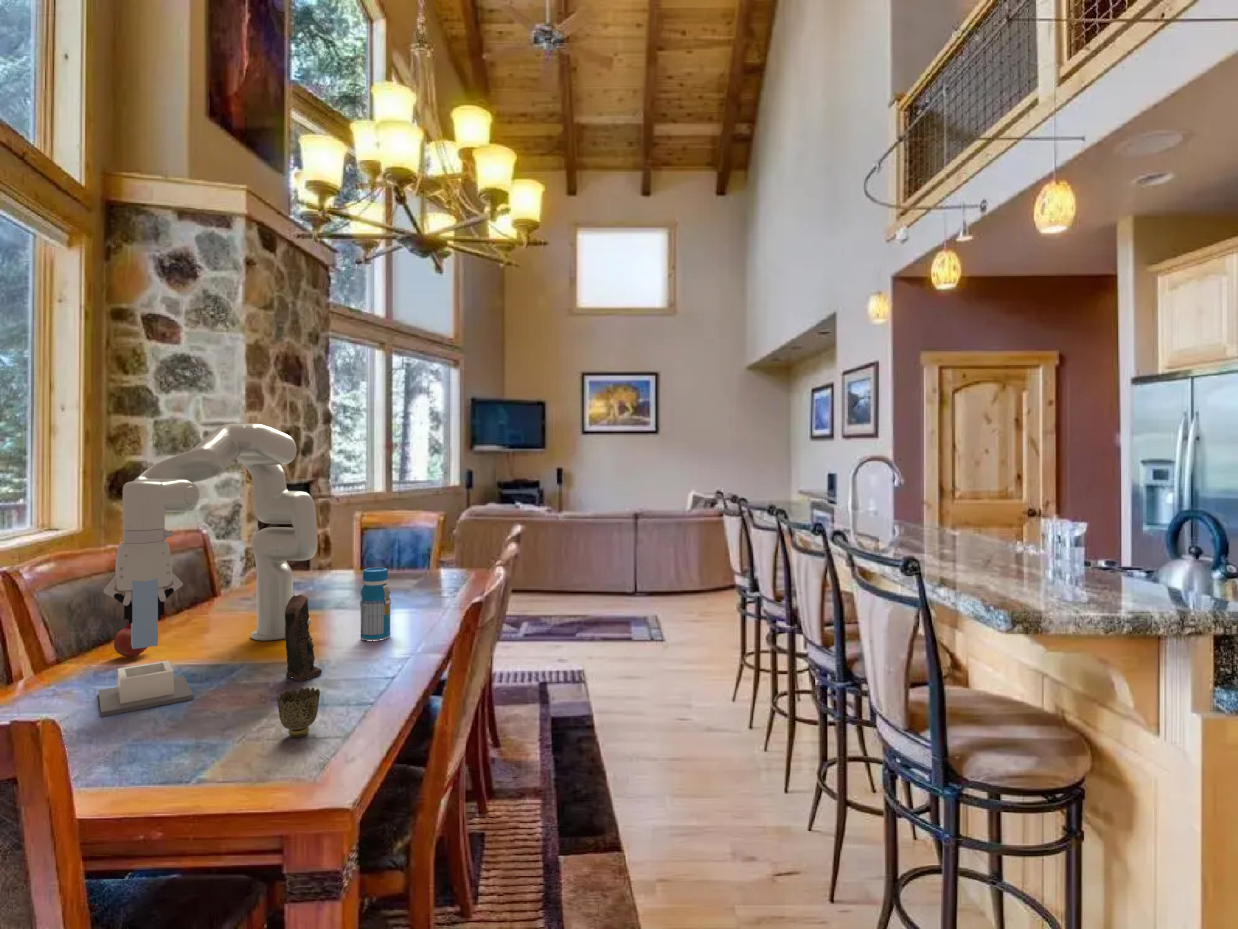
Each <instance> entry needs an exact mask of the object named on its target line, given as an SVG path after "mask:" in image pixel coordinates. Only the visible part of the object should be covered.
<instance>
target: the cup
mask: <svg viewBox="0 0 1238 929" xmlns="http://www.w3.org/2000/svg"><path fill="white" fill-rule="evenodd" d="M320 694H321V691H320V689H319V688H317V689H315V688H314V687H311V690H310V688H309V687H305V688H304V687H301V688H300V689H299V690H298V691H297V690H296V688H293V690H292V691H291V690H288V689H286V690H284V692H283V693H282V692H280V693H279V698H278V696H276V700H277V701H276V702H277V708H278V709H277V710H278V715H279V720H280V723H281V725H282V726H283V727H284V728H285V729H286V730H288V731H287V734H288V736H289V737H291V738H295V739H296V738H302V737H305V736H306V735H308V734H309V732H310V726H312V725H313V723H315V721H316V719H317V716H318V712H319V711H318V710H319V705H320V704H319V703H320V696H321V695H320Z"/></svg>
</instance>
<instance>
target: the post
mask: <svg viewBox="0 0 1238 929" xmlns="http://www.w3.org/2000/svg"><path fill="white" fill-rule="evenodd" d="M130 601H131V604H132V624H131V646H132V649H137V648H144V647H148V648H149V647H150V648H151V647H157V646H158V645H159V620H158V578H156V579H153V580H149V581H135V580H132V597H131V600H130Z"/></svg>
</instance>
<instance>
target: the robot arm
mask: <svg viewBox="0 0 1238 929" xmlns="http://www.w3.org/2000/svg"><path fill="white" fill-rule="evenodd" d="M297 452H298V451H297V444H296V442H295V440H294V439H293V437H292V436H290V435H288V434H287V433H285V432H282V431H280V430H277V429H275V428H273V427H271V426H269V425H268V426H267V425H264V424H262V423H261V424H260V423H225V424H222V425H220V426H219V427H217V428H215V429H214V430H213V431H212V432H211V433H209V434H208V435H206V437H205V438H204V439H202V441H200V442H199V443H198V444H197V445H195V447H194V448H192V449H189V450H188V451H185V452H184V451H183V452H182V453H180V454H177V455H175V456H172V457H170V458H167V459H165V460H161V461H159V462H157V463H156V464H153V465H151V466H150V467H149V468H147V469H146V470H144V471H143V472H142V473H140V474H139V475H138V476H137V477H136V478H135V479H133V481H128V482H126V483H124V484H123V487H122V544H121V543H120V544H118V546H117V551H116V558H115V568H114V569H115V570H114V574H115V575H114V577H113V578H112V579H111V580H110V582H109V583H108V584H107V585H106V586H105V588H104V589H103V593H104V594H105V595H106V596H109V597H111V598H114V600H116V601H118V602H119V603H121V604H122V605H123V619H124V620H123V621H128V624H132V604H131V597H132V580H135V581H149V580H153V579H156V578H158V621H161V620H162V616H164V615H165V602H166V600H167V599H168V598H169V597H171V595H172V594H173V593H174V592H176V591H177V590H179V589H180V588H181V587H183V586H184V583H183V581H181V580H180V578H179V577H178V576H177V575H176V574H175V573H174V572H173V565H172V564H173V563H172V555H171V549H170V545H169V541H166V539H167V538H169V537H170V538H171V537H173V534H174V533H173V530H169V529H168V530H167V529H166V528H165V527H166V526H165V525H166V524H165V523H166V520H165V519H166V517H165V516H166V514H165V512H172V513H173V512H176V513H177V512H179V513H180V512H186V511H189V510H190V509H193V508H194V507H195V506H196V505H197V504H198V502H199V500H200V495H201V494H200V493H201V492H200V489H199V487H198V486H197V485H196V484H195V483H198V482H203V481H206V480H209V479H212V478H215V477H217V476H219V475H220V474H221V473H223V472H224V471H225V470H226V469H227V468H228V467H229V466H230V465H231V464H232V463H233V462H234V461H235V460H236V461H237V462H239V463H240V464H241V465H243V467H245V469H247V471H248V473H249V474H250V476H251V480H252V487H253V499H254V507H255V510H254V511H255V514H256V517H257V519H258V521H260V522H261V523H264V524H272V525H273V524H275V525H277V524H279V525H280V524H281V525H282V524H283V525H292V526H293V527H288V526H287V527H285V526H283V527H280V526H279V527H278V526H277V527H275V526H273V527H272V526H271V527H265V528H261V529H260V530H258V531H257V532H255V534H254V536H253V538H252V541H251V542H252V544H251V546H252V554H253V557H254V561H255V571H256V629H255V630H254V631H252V632H251V633H250V638H251V639H252V640H253V641H254V640H255V641H277V640H285V610H286V606H287V604H288V602H289V600H290V599H291V598H292V596H294V576H293V575H294V574H293V571H292V568H291V566H290V565H289V563H288V562H287V561H308V560H311V559H312V558H313V557H315V555H316V553H317V551H318V545H319V544H318V542H319V541H318V527H317V514H316V513H317V512H316V505H315V501H314V498H313V497H312V496H311V494H309V493H308V492H307V491H301V490H288V488H287V482H286V481H287V480H286V473H285V470H284V468H283V466H285V465H288V464H290V463H292V462H293V461H294V460H295V458H296V457H297ZM115 588H116V589H117V591H116V590H115ZM165 588H166V589H165ZM118 591H119V592H118ZM120 591H121V592H124V594H121V593H120ZM311 622H312V621H311V618H310V617H309V620H308V624H309V626H310V625H311Z"/></svg>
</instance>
